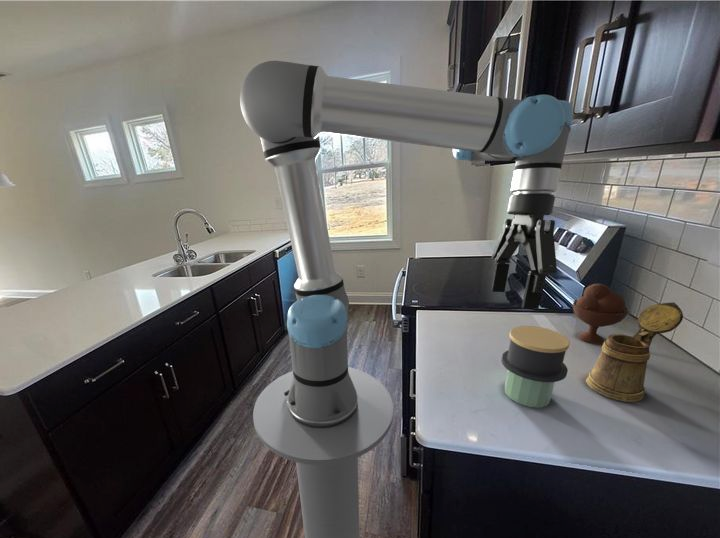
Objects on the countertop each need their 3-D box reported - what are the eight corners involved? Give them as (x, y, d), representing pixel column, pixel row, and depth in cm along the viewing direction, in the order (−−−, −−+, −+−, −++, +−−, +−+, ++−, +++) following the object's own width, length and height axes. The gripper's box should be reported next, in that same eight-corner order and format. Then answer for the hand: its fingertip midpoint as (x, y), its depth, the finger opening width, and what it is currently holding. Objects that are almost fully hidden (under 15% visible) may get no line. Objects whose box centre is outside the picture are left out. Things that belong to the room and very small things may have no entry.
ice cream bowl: (563, 341, 84) (576, 288, 79) (567, 326, 92) (580, 277, 87) (617, 353, 78) (635, 296, 72) (616, 335, 86) (633, 283, 80)
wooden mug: (672, 392, 64) (706, 310, 57) (620, 406, 61) (649, 321, 55) (623, 368, 72) (648, 294, 65) (575, 380, 69) (596, 304, 63)
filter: (504, 386, 61) (511, 347, 58) (496, 356, 71) (501, 322, 68) (573, 395, 57) (584, 354, 54) (554, 363, 67) (563, 327, 64)
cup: (508, 403, 64) (513, 374, 61) (501, 380, 71) (506, 353, 68) (555, 410, 61) (563, 380, 58) (543, 386, 68) (550, 358, 65)
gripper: (602, 189, 49) (570, 318, 55) (519, 197, 73) (503, 286, 79) (551, 188, 50) (525, 316, 55) (485, 197, 74) (472, 285, 79)
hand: (512, 299), depth 67 cm, fingers open, 13 cm apart
